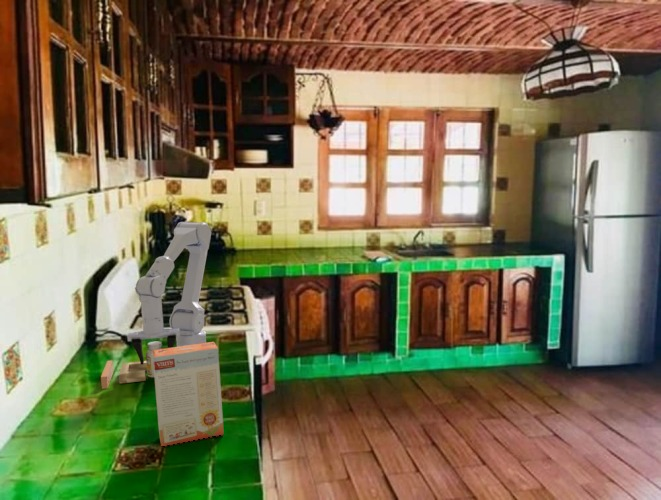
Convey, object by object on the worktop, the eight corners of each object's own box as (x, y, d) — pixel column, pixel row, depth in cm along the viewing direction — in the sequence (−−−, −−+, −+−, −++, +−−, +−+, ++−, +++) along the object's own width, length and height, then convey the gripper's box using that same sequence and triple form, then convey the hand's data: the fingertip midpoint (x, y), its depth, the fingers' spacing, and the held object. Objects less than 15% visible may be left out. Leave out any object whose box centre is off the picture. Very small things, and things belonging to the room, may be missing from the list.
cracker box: (219, 425, 136) (214, 340, 133) (224, 436, 130) (219, 347, 127) (158, 436, 131) (151, 348, 128) (160, 448, 125) (153, 356, 122)
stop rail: (113, 371, 174) (112, 360, 174) (107, 388, 161) (106, 376, 160) (108, 371, 174) (107, 360, 173) (101, 388, 160) (100, 377, 160)
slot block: (147, 369, 175) (146, 360, 174) (145, 380, 165) (144, 372, 165) (123, 371, 173) (122, 363, 173) (119, 383, 163) (118, 374, 163)
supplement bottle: (169, 371, 173) (166, 340, 172) (162, 378, 168) (159, 346, 166) (151, 371, 173) (149, 340, 172) (144, 377, 168) (142, 345, 167)
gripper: (124, 323, 161) (128, 369, 163) (178, 318, 165) (181, 363, 167) (127, 316, 168) (130, 361, 170) (178, 312, 171) (181, 355, 173)
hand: (155, 361), depth 169 cm, fingers open, 7 cm apart
